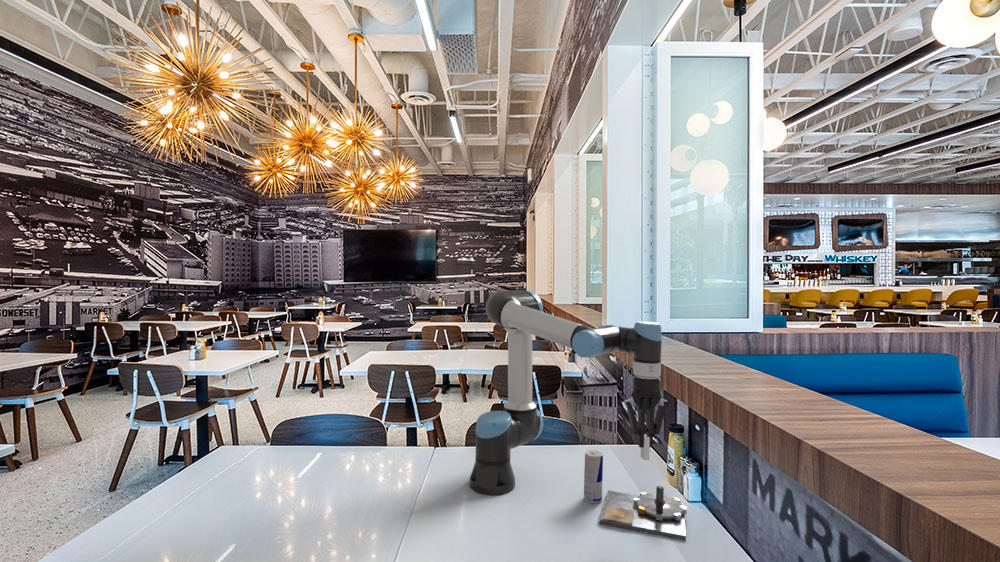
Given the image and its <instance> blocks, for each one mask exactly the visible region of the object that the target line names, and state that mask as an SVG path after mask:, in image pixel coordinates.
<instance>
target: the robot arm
mask: <svg viewBox="0 0 1000 562" xmlns="http://www.w3.org/2000/svg"><path fill="white" fill-rule="evenodd" d="M485 312H486V313H485V314H486V315H487V318H488V319H489V320H490V321H491V322H492V323H493V324H495V325H497V326H500V327H503V329H504V331H506V333H507V401H506V402H505V403H504V404H503V410H489V411H487V412H484V413H482V414H480V415H479V416H478V418H477V420H476V425H475V459H474V460H475V461H474V464H473V467H472V470H471V473H470V476H469V487H470V489H471V490H473V491H474V492H476V493H479V494H483V495H487V496H488V495H490V496H495V495H503V494H507V493H509V492H511V491H513V490H514V488H515V487H516V478H515V477H516V476H515V474H514V470H513V467H512V463H511V452H512V451H511V450H512V449H515V448H517V447H520V446H522V445H525V444H530V443H532V442H533V441H535V440H536V439H538V438H539V436H540V435H541V434H542V432H543V429H544V418H543V416H542V414H541V412H540V411H539V409H538V406H537V404H536V403H535V402H534V401H533V336H535V337H539V338H541V339H544V340H547V341H549V342H552V343H554V344H555V343H556V344H558V345H561V346H563V347H566V348H569V349H571V350H573V351H574V352H575V353H576V355H577V356H578V357H581V358H585V359H586V358H595V357H598V356H602V355H607V354H612V353H613V354H614V353H623V354H624V353H625V354H632V355H633V369H632V373H633V375H634V376H633V377H632V393H631V395H630V396H631V397H629V398H628V399H624V400H623V401H622V402H623V404H624V406H625V407H626V411H627V415H628V420H629V425H630V430H631V432H632V433H633V434H634V435H635V436H637V445H638V447H639V448H640V457H641V459H642V460H644V461H650V448H653V443H654V442H653V440H654V439H653V438H655V435H659V434H660V432H661V428H662V424H663V422H664V421H663V420H664V417H665V413H666V409H667V408H668V407H669V406H670V402H669V401H668V400H666V399H665V398H663V397H662V395H661V377H660V376H662V375H661V374H662V373H661V371H662V343H663V338H662V335H663V334H662V325H661V324H660V323H658V322H655V321H654V322H653V321H637V322H635V323H634V326H633V327H626V326H618V325H617V326H616V325H613V324H608V325H605V324H603V325H599V326H598V328H593V327H590V326H586V325H583V324H580V323H578V322H574V321H573V320H569V319H565V318H562V317H561V316H560V317H559V316H557V315H553V314H550V313H547V312H544V307H543V302H542V300H541V298H540V297H539V295H538V294H537V293H535V292H534V291H532V290H526V289H524V290H523V289H518V290H517V289H515V290H514V289H513V290H498V291H497V292H494V293H493V294H492V295H490V296H489V298H488V299H487V301H486V304H485ZM634 403H635V405H636V407H637V409H636V410H637V417H636V413H635V409H634V407H633V406H634ZM657 405H658V406H657ZM656 407H657V410H656ZM655 412H656V413H655Z"/></svg>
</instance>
